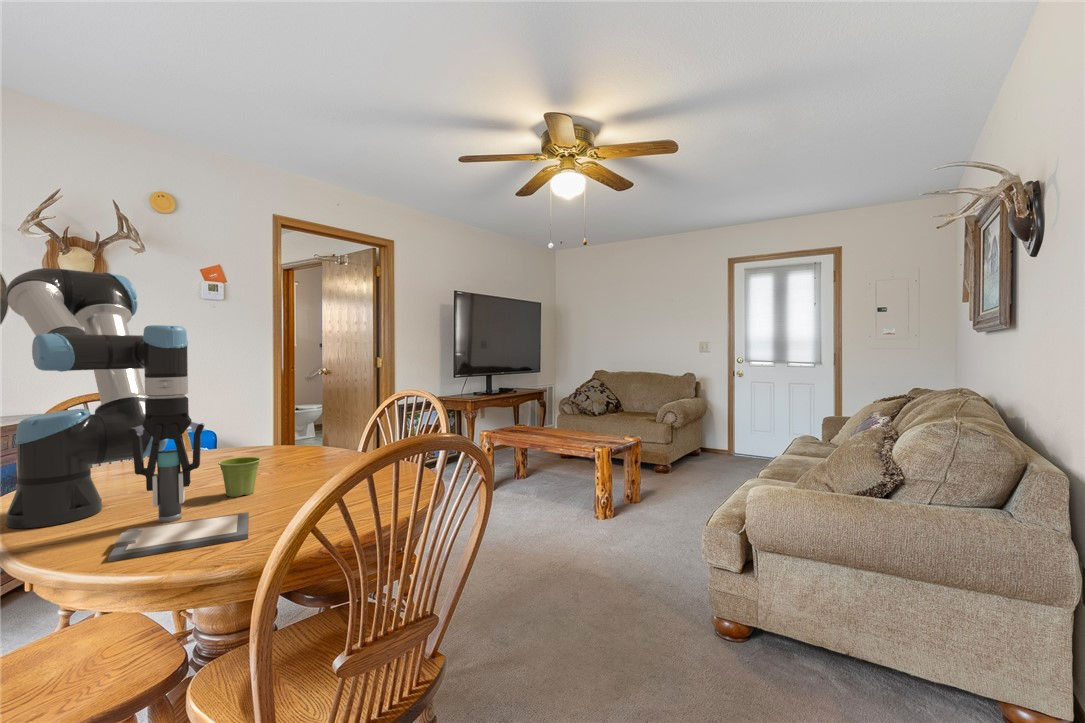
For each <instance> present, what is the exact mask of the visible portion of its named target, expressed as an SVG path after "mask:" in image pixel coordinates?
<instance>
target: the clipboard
mask: <svg viewBox="0 0 1085 723" xmlns="http://www.w3.org/2000/svg"><path fill="white" fill-rule="evenodd" d="M249 514H250V513H249V511H246V512H241V513H233V514H226V515H218V516H212V517H205V518H197V519H192V520H191V519H190V520H184V521H177V522H176V521H175V522H168V523H164V524H163V523H161V524H157V525H155V524H154V525H150V526H144V527H143V526H141V527H136V528H129V529H127V530H125V531H124V532H121V534H120V535H119V536H118V538H117V539H116V541H115V542H114V548H113V549H112V551H111V552H110V554H109V555H108V562H109V563H111V562H116V561H121V560H127V559H135V558H139V557H141V558H142V557H147V556H152V555H158V554H159V555H160V554H164V553H168V552H170V553H171V552H176V551H182V550H189V549H193V548H194V549H195V548H199V547H206V546H211V545H218V544H225V543H230V542H236V541H241V540H242V541H243V540H249V527H250V526H249V521H250V520H249V518H250V515H249Z"/></svg>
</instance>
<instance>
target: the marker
mask: <svg viewBox="0 0 1085 723" xmlns="http://www.w3.org/2000/svg"><path fill="white" fill-rule="evenodd" d="M156 467H157V469H156V470H157V474H158V506H157V510H158V523H161V524H163V523H164V524H168V523H174V522H176V521H177V522H178V521H180V520H181V519H183V518H182V517H183V516H182V514H183V513H182V503H180V504H179V475H178V474H179V473H180V471H181V463H180V460H179V456H178V452H177V449H166V450H165V449H164V450H163V451H159V452H158V453H157V463H156Z"/></svg>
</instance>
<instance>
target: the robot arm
mask: <svg viewBox="0 0 1085 723" xmlns="http://www.w3.org/2000/svg"><path fill="white" fill-rule="evenodd" d="M137 294H138V293H137V292H136V288H135V286H134V285H133V283H132V281H131V280H130V279H129V278H127V276H124V275H120V274H114V273H110V272H101V273H100V272H93V271H92V272H91V271H84V270H75V269H66V268H65V269H63V268H57V267H55V268H54V267H46V268H45V267H43V268H42V267H41V268H37V269H33V270H29V271H26V272H23V273H21V274H19V275H18V276H16V277H14V278H13V279H12V280H11V281H10V282H9V283H8V285H7V287H6V289H5V301H6V302H7V305H8V306H9V308H10V309H11V310H12V311H13V312H14V313H15V314H17V315H19V316H20V317H23V319H24V320H25V322H26V323H27V325H28V326H29V328H30V330H31V331H32V332H33V335H34V338H33V340H32V345H31V355H32V360H33V365H34V366H35V368H36V369H38V370H40V371H43V372H44V371H47V372H48V371H49V372H50V371H51V372H53V371H54V372H56V371H57V372H61V373H62V372H73V371H93V374H94V377H95V378H94V379H95V381H96V386H97V391H98V396H99V399H100V400H99V401H100V404H99V405H98V406H96V408H95V409H94V414H93V413H92V414H91V412H90V410H89V409H87V408H75V409H66V410H58V411H52V412H47V413H43V414H42V413H41V414H37V415H33V416H30V417H27V418H23V419H22V420H21V421H19V422H18V424H17V427H16V434H15V440H14V444H15V445H16V470H17V471H16V473H17V474H16V476H17V488H16V490H15V493H14V496H13V497H12V500H11V503H10V505H9V507H8V510H7V513H6V515H5V516H6V517H5V518H6V520H5V521H6V523H5V524H6V527H8V528H10V529H11V528H13V529H33V528H35V529H36V528H41V527H42V528H43V527H44V528H45V527H51V526H56V525H62V524H66V523H71V522H72V523H73V522H74V521H75V522H77V521H78V520H82V519H83V520H84V519H86V518H89V517H91V516H94V515H97V514H98V513H100V512H101V511H102V509H103V503H102V498H101V495H100V494H99V491H98V490H97V487H96V485H95V483H94V481H93V479H92V475H91V474H92V473H91V472H92V469H91V468H92V465H97V464H105V463H112V462H120V461H127V460H133V468H134V474H135V475H136V476H137V475H140V476H144V477H145V483H146V484H145V486H146V488H145V489H146V491H147V492H152V507H154V508H155V507H158V473H155V472H156V467H157V453H158V452H159V451H164V450H165V448H166V446H167V444H168V442H169V440H173V442H174V445H175V447H176V448H175V449H176V450H177V452H178V456H179V460H180V463H181V464H180V468H181V470H182V471H181V470H180V473H179V474H178V475H179V504H180V503H181V504H184V502H185V500H186V499H185V498H186V497H185V496H186V495H185V494H186V493H185V492H186V490H185V488H186V487H190V484H191V471H193V470H196V469H198V468H199V467H200V465H201V449H202V448H201V447H202V432H203V431H204V429H205V424H204V423H203V422H201V423H199V422H196V421H193V420H192V418H191V417H190V414H189V410H190V409H189V397H188V396H186V395H188V394H189V375H188V369H189V368H188V345H189V340H188V335H187V329H186V328H185V327H184V326H182V325H166V324H165V325H160V324H159V325H154V324H153V325H146V326H145V327H144V328H143V335H140V334H138V335H132V334H131V335H130V331H129V327H128V323H129V322H130V321H131V320H132V319H133V318H132V317H133V316H134V315H135V314H136V313H137V311H138V310H137V309H138V300H137V298H138V295H137ZM141 369H142V370H144V385H143V382H142V379H141V375H140V370H141ZM189 427H190V428H191V432H192V433H193V438H192V439H193V445H192V463H190V461H189V457H188V453H187V449H186V446H185V440H184V438H183V434H184V433H185V431H187V429H188V428H189ZM145 457H148V462H147V466H146V467H145V463H144V462H145V460H144V458H145Z"/></svg>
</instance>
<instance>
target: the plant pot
mask: <svg viewBox="0 0 1085 723" xmlns="http://www.w3.org/2000/svg"><path fill="white" fill-rule="evenodd" d="M261 461H262V458H261V457H257V456H242V457H241V456H239V457H232V458H228V459H222V460H220V461H218V463H217V464H218V465H219V466H220V470H221V472H222V478H223V483H224V488H225V494H226V495H225V496H228V497H229V498H230V497H231V498H232V497H234V498H236V497H237V498H239V497H242V496H243V495H246V496H249V495H251V494H254V492H255V486H256V480H257V473H258V467H259V466H260V462H261Z"/></svg>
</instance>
